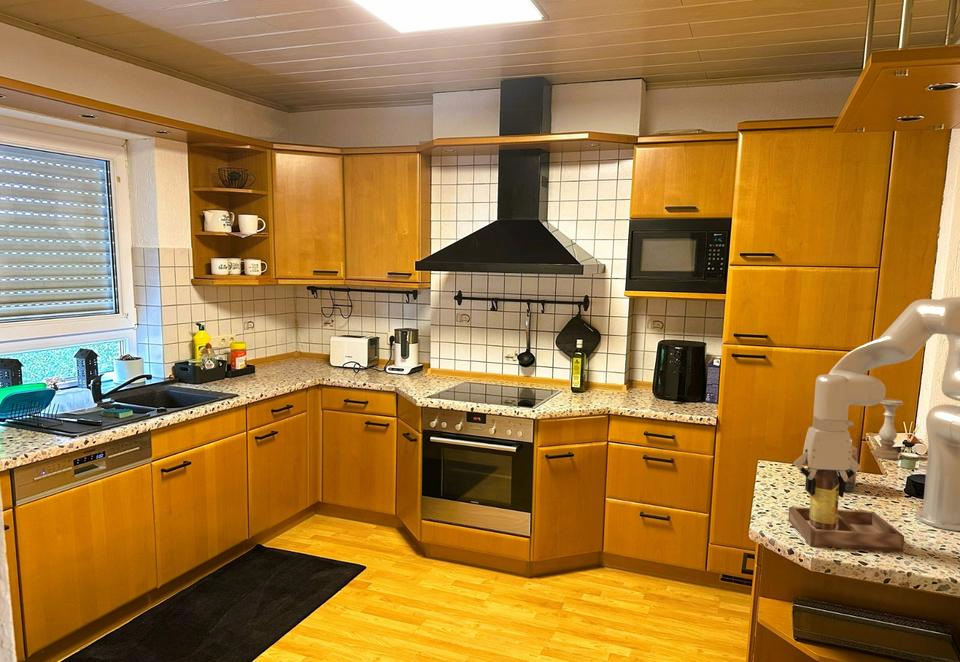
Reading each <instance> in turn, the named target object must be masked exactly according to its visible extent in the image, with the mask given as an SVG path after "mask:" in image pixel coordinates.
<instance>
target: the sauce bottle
mask: <svg viewBox="0 0 960 662" xmlns="http://www.w3.org/2000/svg"><path fill="white" fill-rule="evenodd" d="M814 480H815V493H814V495H810V494H809V495H810V500H809V508H810V517H809V518H810V524H811V525H812V526H813V527H815V528H818V529H822V530H833V529H835V528H836V523H837V518H838V510H839V498H840V496H839V480H838V476H837V473H836V470H817V472H816V474H815V476H814Z"/></svg>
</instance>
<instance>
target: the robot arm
mask: <svg viewBox="0 0 960 662" xmlns="http://www.w3.org/2000/svg"><path fill="white" fill-rule="evenodd" d="M937 334H938V335H944V336H946V339H947V341H948V350H947V352H948V353H947V357H946V362H945V366H944V371H943V374H942V375H943V376H942V380H941V391H942V394H943V395H944V396H945V397H946V398H949V399H951V400H954V401H958V402H960V297H959V296H953V297H952V296H950V297H949V296H948V297H944V298H941V299H936V298H935V299H933V298H921V299H917V300H914V301H913V302H911V303H910V304H909V305H908V306H907V307H906V308H905V309H904V310H903V311H902V312H901V313H900V314H899V316H898V317H897V318H896V319H895V320H894V322H893V323H891V324H890V325H889V327H887V329H886V330H885V331H884V332H883V333H882V334H881V336H879V337H878V338H876V339H874V340H872V341H868V342H866V343H865V344H863V345H861V346H859V347H857V348H855V349H853V350H850V352H848V353H846V354H845V355H844V356H842V357H841V359H840V360H838V362H836V363H835V365H833V367H832V368H831V369H830V371H829V372H828V373H827V374H820V375H818V376H817V377H816V378H815V384H814V385H815V387H814V401H813V416H812V426H809V427H808V429H807V432H806V436H805V441H804V445H803V451H802V454H801V455H800V456H799V457H798V458H796V459H795V460H794V461H793V465H794V466H795V468H797V469H798V470H799V471H800V472H801V473H802V474H803V476H805V487H804V488H805V490H806V492H807V493H808V494H809V495H814V493H815V480H814V476H815V474H816V472H817V470H836V471H837V473H838V480H839V498H840V497H841V498H844V493H846V492H845V488H846V482H847V481H848V479H849V478H850V477H851V476H853V475H854V473H855V472H856V473H857V472H859V470H860V469H862V466H861V465H860V464H859V462H858V461H857V462H856V461H855V460H854V459H853V458H852V451H851V440H852V439H851V434H850V433H851V432H850V431H849V427H853V426H854V421H853V420H849V419H848V416H849V406H851V405H855V406H862V407H863V406H864V407H872V406H875V405H878V404H880V403H879V402H881V401H882V400H883V399H885V396H886V394H887V393H886V390H887V389H886V387H885V384H884V383H883V382H882V381H881V380H880V379H879V378H876V377H875V376H871V375H867V374H864V373H866V372H868V371H870V370H873V369H875V368H879V367H883V366H887V365H893V364H899V363H903V362H906V361H909V360H912V358H913V357H914V356H916V354H917V352H919V351H920V350H921V348H922V347H923V346H924V345H925V344H926V343H927V342H928V341H929V340H930V339H931V338H932V336H933V335H937ZM925 426H926V427H925V428H926V433H927V434H926V435H927V443H928V447H927V459H926V460H927V462H926V472H925V479H924V480H925V481H924V482H925V483H924V494H923V504H922V508H919V509H917V510H915V514H914V515H915V517H916V519H917V520H918V521H921V522H922V523H924V524H926V525H929V526H931V527H936V528H938V529H943V530H949V531H954V532H955V531H956V532H960V406H958V405H955V404H947V403H946V404H945V403H943V404H938V405H936V406H934V407H932V408H931V409H930V410H929V411H928V413H927V416H926V419H925ZM803 464H806V465H807V468H805V467H804V465H803ZM851 465H852V466H851ZM845 470H846V471H845Z"/></svg>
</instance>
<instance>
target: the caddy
mask: <svg viewBox="0 0 960 662" xmlns="http://www.w3.org/2000/svg"><path fill="white" fill-rule="evenodd" d="M788 507H789V508H788V520H787V521H788V523H789V522H790V523H791V524H792V525H791V524H790V523H789V524H790V525H791V527H792V528H794V530H795V529H796V530H797V531H798V532H799V533H800V534H801V535H800V534H799V533H798V532H797V531H796V530H795V531H796V532H797V533H798V534H799V535H800V537H803V538H804V539H805V540H806V541H805V540H804V539H803V538H802V539H803V540H804V541H805V542H806V544H808V545H810V546H809V547H815V546H816V547H819V548H830V547H834V549H846V548H850V549H849V550H861V549H865V550H864V551H879V552H880V551H881V552H892V553H893V552H894V553H896V552H897V553H904V546H905V545H904V543H905V535H904V534H902V533H901V532H900V531H899V530H898V529H896V528H895V527H894V526H893V525H891V523H889V522H888V521H886V520H885V519H884V518H883V517H881V516H880V515H879V514H878V513H876V512H875V511H869V510H851V509H838V518H837V523H836V528H835V529H833V530H822V529H818V528H815V527H813V526H812V525H811V524H810V518H809V517H810V507H800V506H788Z"/></svg>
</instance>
